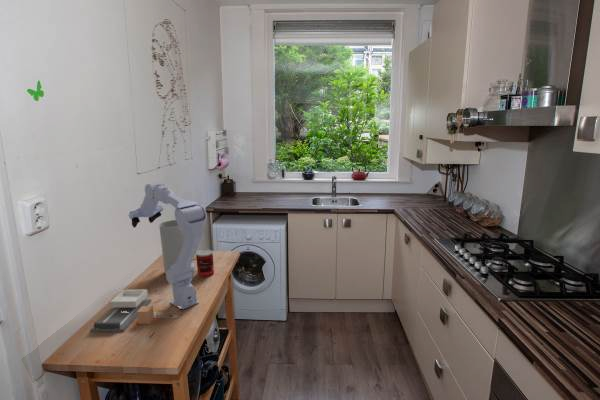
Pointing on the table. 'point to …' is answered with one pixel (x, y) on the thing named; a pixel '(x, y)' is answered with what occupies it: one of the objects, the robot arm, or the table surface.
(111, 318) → the track
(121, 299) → the white shallow tray
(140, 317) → the block
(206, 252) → the canned food
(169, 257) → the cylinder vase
